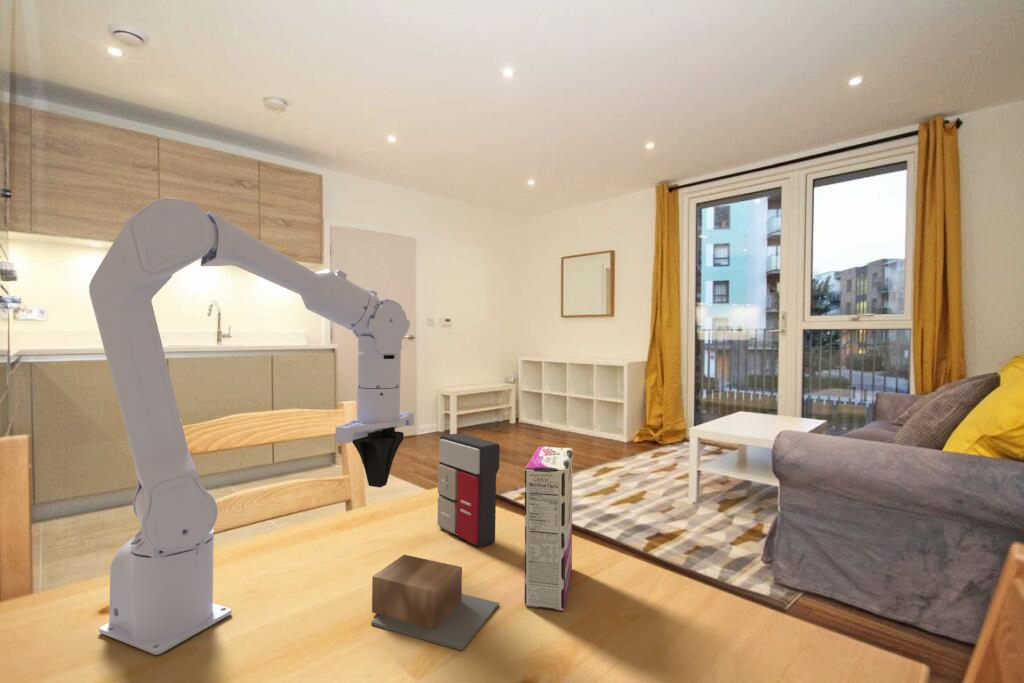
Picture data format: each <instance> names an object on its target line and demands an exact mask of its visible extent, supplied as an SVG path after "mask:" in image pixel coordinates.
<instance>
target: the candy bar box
mask: <svg viewBox="0 0 1024 683" xmlns="http://www.w3.org/2000/svg"><path fill="white" fill-rule="evenodd" d="M572 570H573V448H572V447H571V448H570V447H558V446H547V445H545V446H538V447H537V449H536V450H535V452H534V453H533V455H532V456H531V458H530V460H529V461H528V463H527V464H526V466H525V467H524V606H525V607H527V608H532V609H541V610H551V611H558V612H559V611H560V612H564V611H565V608H566V603H567V598H568V593H569V591H568V590H569V587H570V586H569V585H570V580H571V575H572Z"/></svg>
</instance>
